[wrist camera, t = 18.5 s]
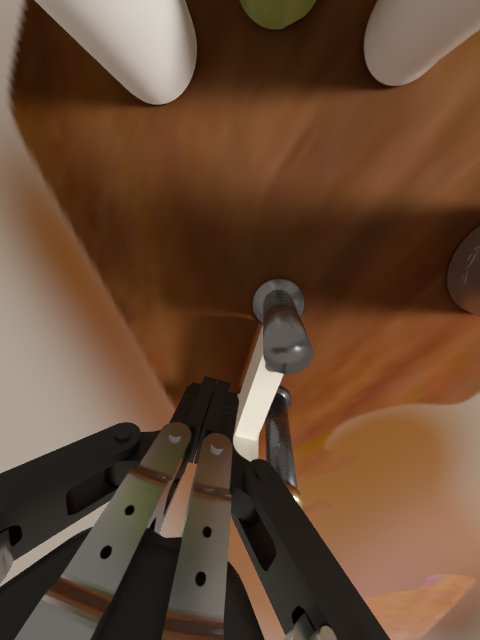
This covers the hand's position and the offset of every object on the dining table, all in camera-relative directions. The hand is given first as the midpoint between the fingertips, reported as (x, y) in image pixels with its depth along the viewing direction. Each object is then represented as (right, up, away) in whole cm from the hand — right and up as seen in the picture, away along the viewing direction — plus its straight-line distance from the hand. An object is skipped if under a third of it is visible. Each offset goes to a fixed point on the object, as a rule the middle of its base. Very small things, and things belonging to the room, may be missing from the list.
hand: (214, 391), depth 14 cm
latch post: (+6, -5, +15) cm, 17 cm away
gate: (+3, -1, +11) cm, 12 cm away
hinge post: (+5, +6, +10) cm, 13 cm away
